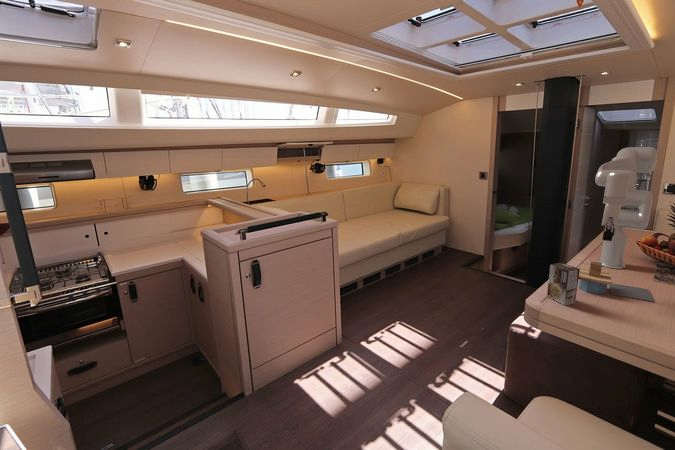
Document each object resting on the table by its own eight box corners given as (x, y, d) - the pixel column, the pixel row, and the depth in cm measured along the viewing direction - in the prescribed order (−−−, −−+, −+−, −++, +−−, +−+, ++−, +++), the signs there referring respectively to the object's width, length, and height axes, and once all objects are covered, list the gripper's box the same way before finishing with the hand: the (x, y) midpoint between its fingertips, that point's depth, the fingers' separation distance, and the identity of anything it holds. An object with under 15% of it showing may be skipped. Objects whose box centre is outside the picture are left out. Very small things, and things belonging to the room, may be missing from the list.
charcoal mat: (608, 283, 159) (609, 282, 159) (647, 290, 151) (647, 289, 151) (611, 294, 148) (611, 293, 148) (653, 302, 140) (653, 301, 140)
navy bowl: (578, 283, 161) (580, 271, 159) (604, 287, 155) (606, 275, 154) (579, 290, 153) (580, 279, 151) (606, 295, 147) (608, 283, 146)
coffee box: (575, 303, 141) (581, 269, 138) (564, 306, 140) (569, 271, 136) (556, 294, 150) (561, 261, 146) (545, 296, 148) (550, 263, 144)
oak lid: (577, 270, 161) (579, 257, 159) (609, 275, 154) (611, 261, 152) (578, 279, 151) (580, 264, 149) (611, 284, 144) (614, 269, 143)
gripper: (605, 197, 150) (599, 232, 154) (601, 202, 138) (595, 240, 142) (626, 198, 145) (620, 235, 149) (624, 204, 133) (617, 244, 137)
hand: (608, 238), depth 145 cm, fingers open, 9 cm apart
